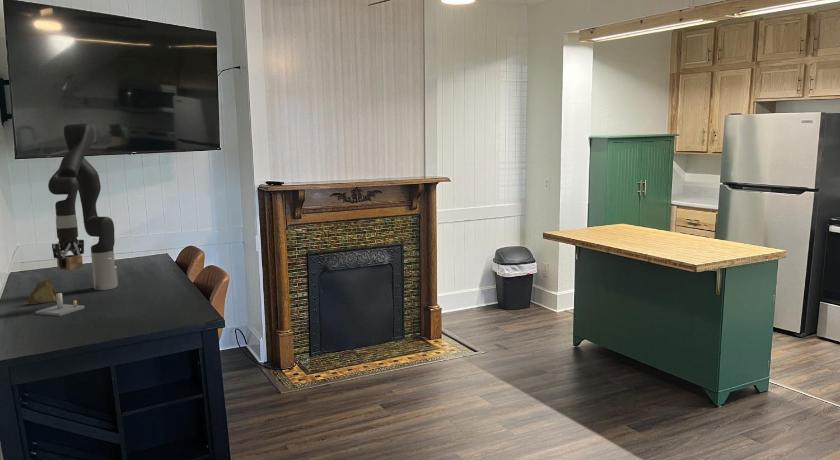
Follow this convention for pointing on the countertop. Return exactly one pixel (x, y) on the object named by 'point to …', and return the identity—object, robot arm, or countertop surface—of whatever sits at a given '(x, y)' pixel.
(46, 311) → the post board
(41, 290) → the rock
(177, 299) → the countertop surface
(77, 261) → the wooden square frame
